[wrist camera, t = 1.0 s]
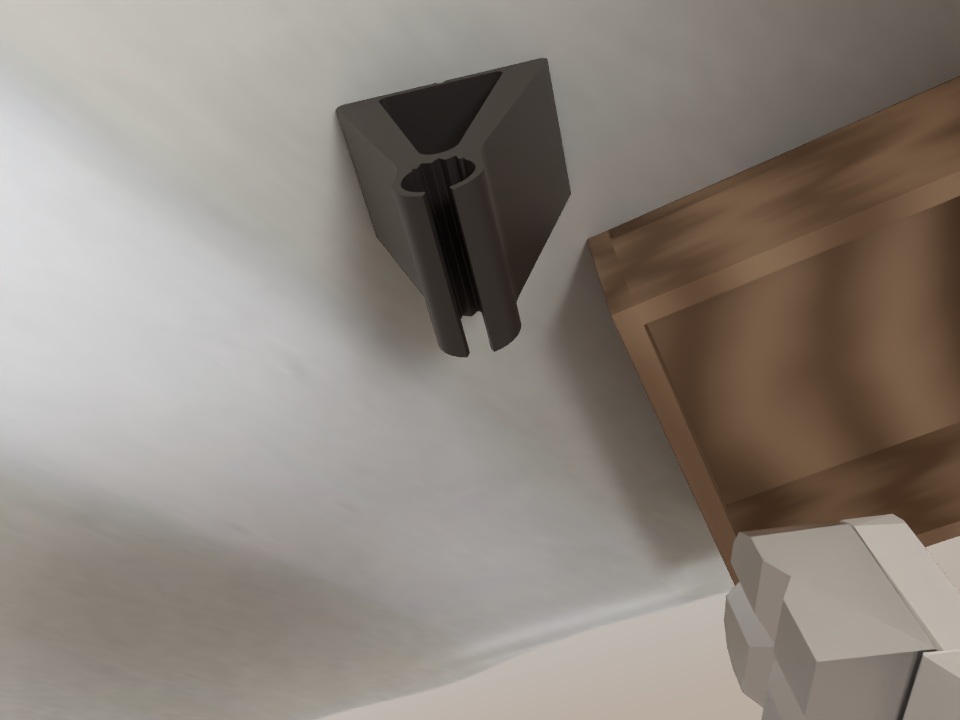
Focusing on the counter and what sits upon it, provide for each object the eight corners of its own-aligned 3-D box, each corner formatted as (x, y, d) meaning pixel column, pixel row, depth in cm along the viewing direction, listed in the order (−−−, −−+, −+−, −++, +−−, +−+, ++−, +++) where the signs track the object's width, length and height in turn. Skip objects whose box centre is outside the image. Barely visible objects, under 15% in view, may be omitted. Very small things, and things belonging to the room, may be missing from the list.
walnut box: (1010, 53, 36) (1119, 104, 30) (1054, 388, 46) (1144, 475, 40) (587, 239, 40) (610, 315, 34) (709, 510, 50) (744, 606, 44)
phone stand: (547, 56, 36) (586, 159, 26) (570, 191, 39) (612, 329, 29) (336, 105, 36) (294, 223, 26) (376, 232, 40) (351, 381, 30)
